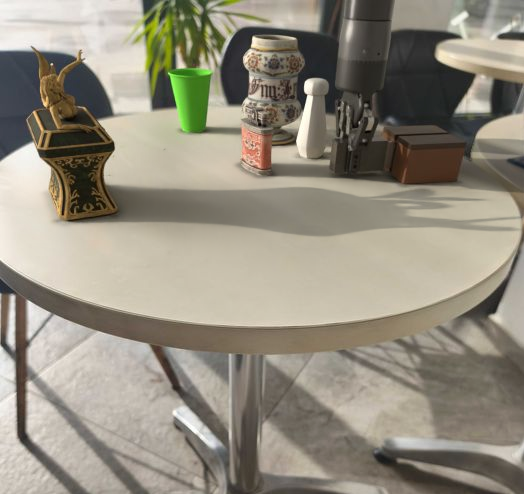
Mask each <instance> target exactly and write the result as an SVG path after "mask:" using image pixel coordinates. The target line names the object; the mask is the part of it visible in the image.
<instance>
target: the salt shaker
mask: <svg viewBox="0 0 524 494" xmlns="http://www.w3.org/2000/svg"><path fill="white" fill-rule="evenodd" d="M329 85H330V84H329V82H328V80H327V79H324V78H321V77H311V78H308V79H306V80H305V81H304V86H303V91H304V94H306V95H307V96H306V100H305V105H304V107H303V108H304V109H303V113H302V117H301V121H300V125H299V127H298V129H299V130H298V132H297V136H296V140H295V141H296V147H297V150H298V153H299V156H300V157H301V158H302V157H303V158H305V159H318V158H321V157H322V156H323V154H324V152H325V151H326V148H327V146H328V135H327V134H328V133H327V132H328V131H327V115H326V100H325V99H326V98H325V96H326V95H327V94H328V93H329V89H330V86H329Z"/></svg>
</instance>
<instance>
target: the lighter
mask: <svg viewBox="0 0 524 494" xmlns="http://www.w3.org/2000/svg"><path fill="white" fill-rule="evenodd" d="M245 113H247V114H249V115H250V116H249V118H246V117H244V118H240V126H241V158H240V165H241V166H242V167H243V168H244V169H246V170H247V171H248V172H251V173H253V174H255V175H258V176H265V177H266V176H267V177H268V176H271V175H272V174H273V168H272V147H273V145H272V133H273V127H272V126H271V125H269V124H267V120H268V113H267V112H265V111H264V109H263V107H257V108H256V107H255V106H253V105H250V104H247V105H246V106H245Z"/></svg>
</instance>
